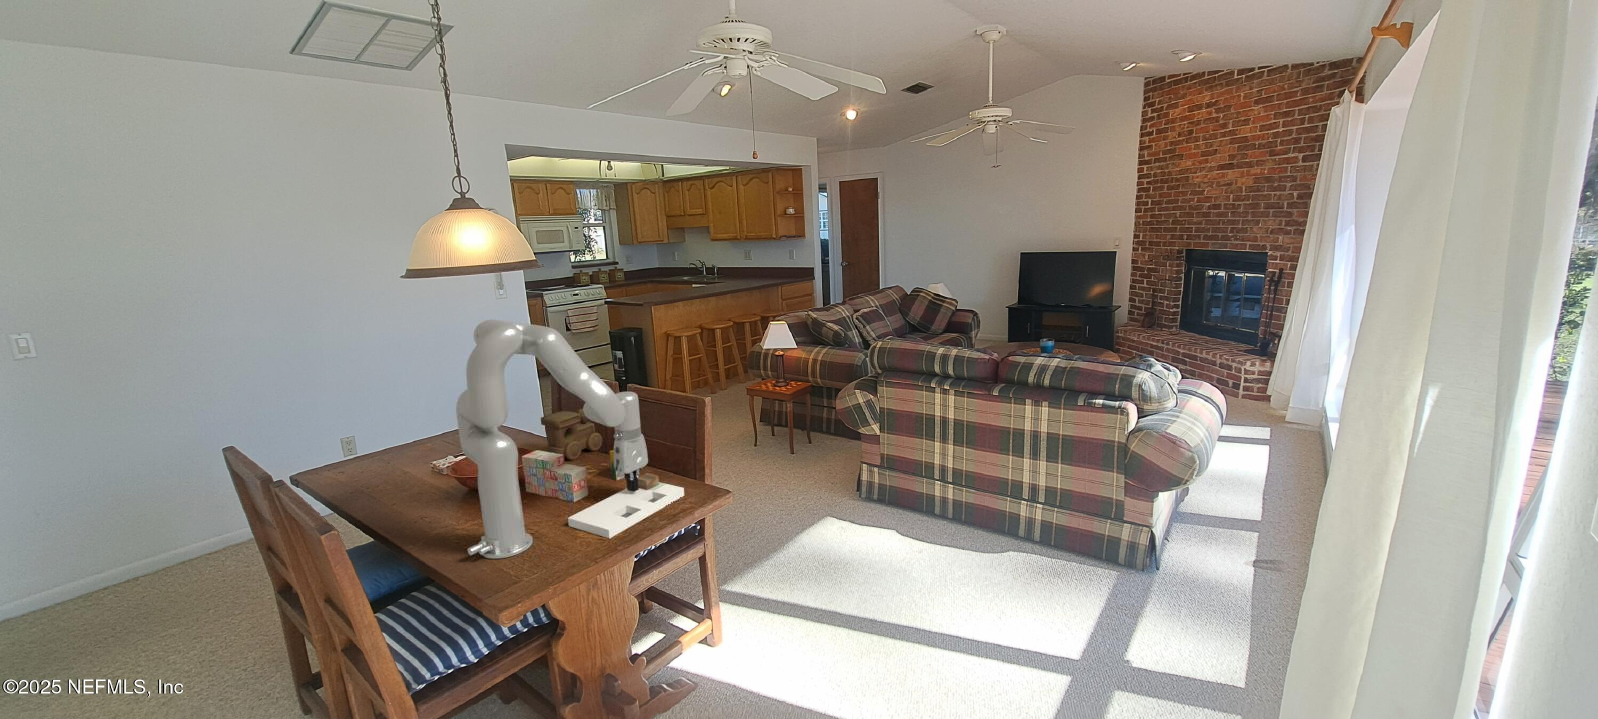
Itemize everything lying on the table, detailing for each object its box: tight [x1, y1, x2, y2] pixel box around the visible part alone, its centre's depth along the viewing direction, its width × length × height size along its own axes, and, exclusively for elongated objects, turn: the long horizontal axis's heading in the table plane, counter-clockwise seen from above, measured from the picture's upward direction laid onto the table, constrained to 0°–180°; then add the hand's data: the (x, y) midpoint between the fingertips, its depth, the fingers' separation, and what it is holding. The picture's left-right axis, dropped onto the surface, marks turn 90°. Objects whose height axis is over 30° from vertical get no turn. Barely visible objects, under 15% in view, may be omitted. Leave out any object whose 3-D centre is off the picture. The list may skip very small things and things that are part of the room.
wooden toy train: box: [540, 408, 603, 461], centre depth 233 cm, size 20×11×17 cm, turn 151°
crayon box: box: [609, 449, 625, 481], centre depth 211 cm, size 7×3×12 cm, turn 139°
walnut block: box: [637, 472, 660, 490], centre depth 196 cm, size 5×5×3 cm
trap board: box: [567, 481, 685, 539], centre depth 186 cm, size 31×16×2 cm, turn 150°
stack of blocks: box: [521, 450, 589, 503], centre depth 198 cm, size 21×6×12 cm, turn 63°
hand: (632, 489), depth 191 cm, fingers closed
